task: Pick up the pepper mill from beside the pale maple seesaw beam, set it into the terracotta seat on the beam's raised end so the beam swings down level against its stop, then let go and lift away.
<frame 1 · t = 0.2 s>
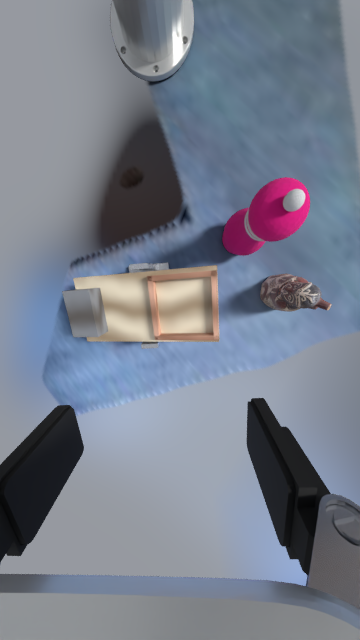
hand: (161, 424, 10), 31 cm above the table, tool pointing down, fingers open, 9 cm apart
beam: (141, 309, 30), point 9 cm above the table, hinge at 10.0°
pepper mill: (238, 237, 36), on the table
fulcrum: (153, 300, 39), on the table
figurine: (277, 291, 38), on the table
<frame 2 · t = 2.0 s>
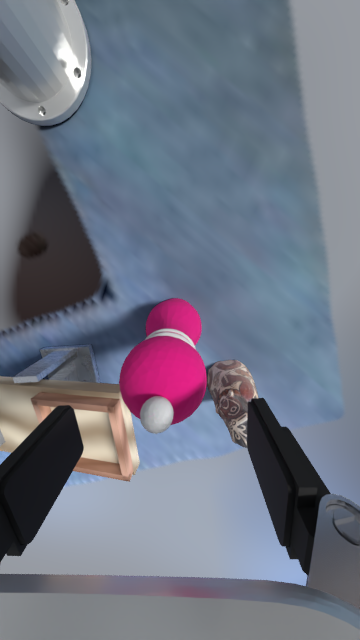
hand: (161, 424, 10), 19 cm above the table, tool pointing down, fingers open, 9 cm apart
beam: (34, 430, 23), point 9 cm above the table, hinge at 10.0°
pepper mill: (175, 317, 28), on the table
fulcrum: (78, 385, 32), on the table
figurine: (227, 377, 31), on the table
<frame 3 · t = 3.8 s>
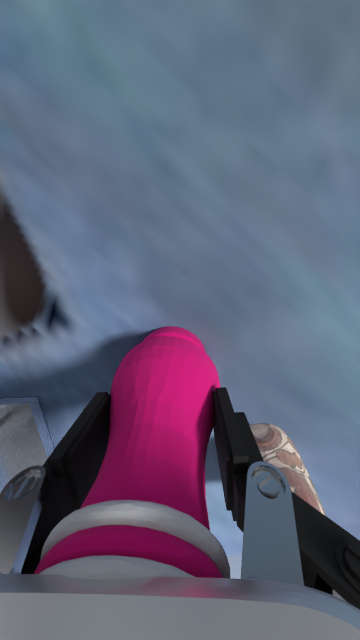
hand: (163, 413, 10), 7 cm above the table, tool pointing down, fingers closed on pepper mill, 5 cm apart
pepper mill: (172, 357, 17), on the table, touching gripper
fulcrum: (21, 455, 21), on the table
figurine: (255, 447, 19), on the table
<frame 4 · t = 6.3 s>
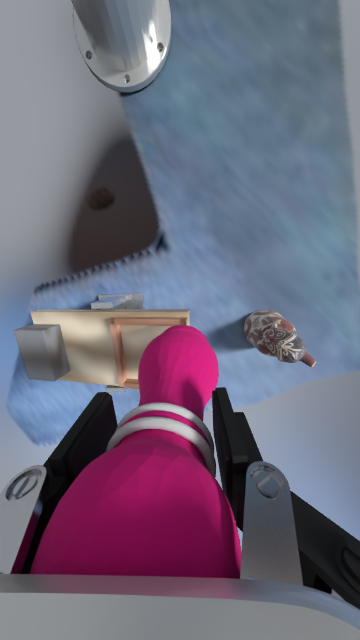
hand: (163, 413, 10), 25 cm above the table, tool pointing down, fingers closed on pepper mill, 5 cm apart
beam: (104, 352, 27), point 9 cm above the table, hinge at 10.0°
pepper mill: (182, 349, 21), point 14 cm above the table, touching gripper
fulcrum: (126, 332, 36), on the table
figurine: (262, 327, 35), on the table
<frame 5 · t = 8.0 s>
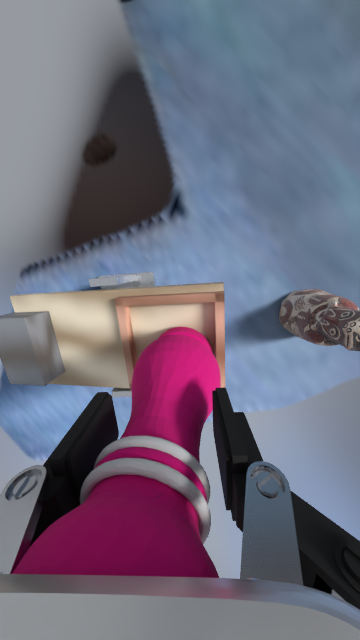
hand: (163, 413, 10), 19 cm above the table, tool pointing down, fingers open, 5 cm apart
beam: (109, 345, 20), point 9 cm above the table, hinge at 8.5°, touching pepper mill
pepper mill: (182, 352, 20), point 10 cm above the table, touching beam
fulcrum: (134, 322, 29), on the table
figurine: (302, 311, 28), on the table
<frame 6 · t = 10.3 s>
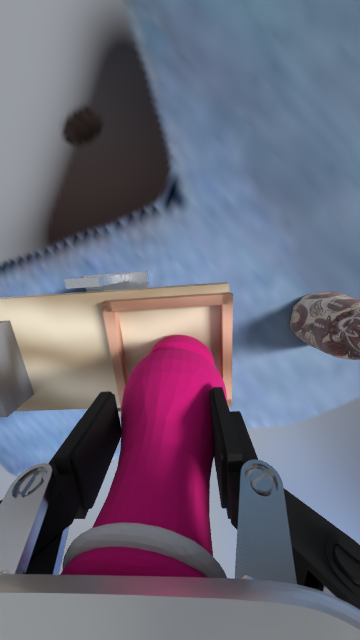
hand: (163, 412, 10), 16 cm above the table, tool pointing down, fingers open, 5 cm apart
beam: (93, 359, 17), point 9 cm above the table, hinge at -0.2°, touching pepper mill
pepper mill: (181, 363, 17), point 8 cm above the table, touching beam, gripper
fulcrum: (125, 328, 26), on the table
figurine: (316, 317, 25), on the table
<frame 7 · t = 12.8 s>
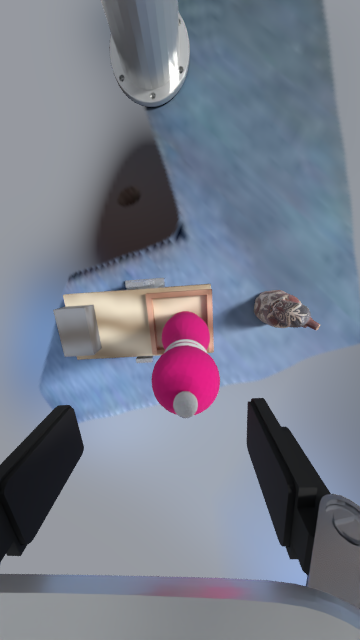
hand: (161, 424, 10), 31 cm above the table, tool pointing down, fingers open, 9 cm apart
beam: (138, 325, 31), point 9 cm above the table, hinge at -0.2°, touching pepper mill
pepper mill: (185, 328, 32), point 8 cm above the table, touching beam
fulcrum: (149, 314, 40), on the table
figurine: (270, 306, 39), on the table
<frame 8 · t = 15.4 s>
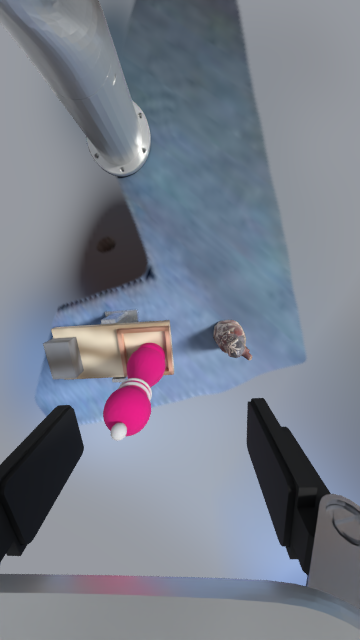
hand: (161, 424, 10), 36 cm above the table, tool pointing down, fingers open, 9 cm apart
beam: (112, 353, 39), point 9 cm above the table, hinge at -0.2°, touching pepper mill
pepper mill: (151, 355, 39), point 8 cm above the table, touching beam
fulcrum: (126, 338, 48), on the table
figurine: (227, 332, 46), on the table
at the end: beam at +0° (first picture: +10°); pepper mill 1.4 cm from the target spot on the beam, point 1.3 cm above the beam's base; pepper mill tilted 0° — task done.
